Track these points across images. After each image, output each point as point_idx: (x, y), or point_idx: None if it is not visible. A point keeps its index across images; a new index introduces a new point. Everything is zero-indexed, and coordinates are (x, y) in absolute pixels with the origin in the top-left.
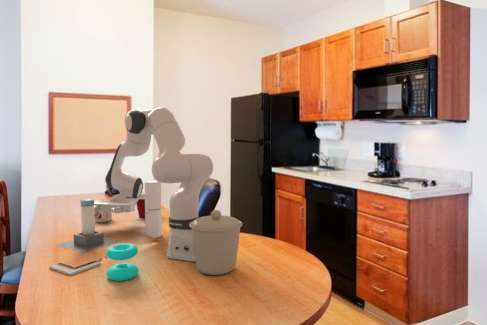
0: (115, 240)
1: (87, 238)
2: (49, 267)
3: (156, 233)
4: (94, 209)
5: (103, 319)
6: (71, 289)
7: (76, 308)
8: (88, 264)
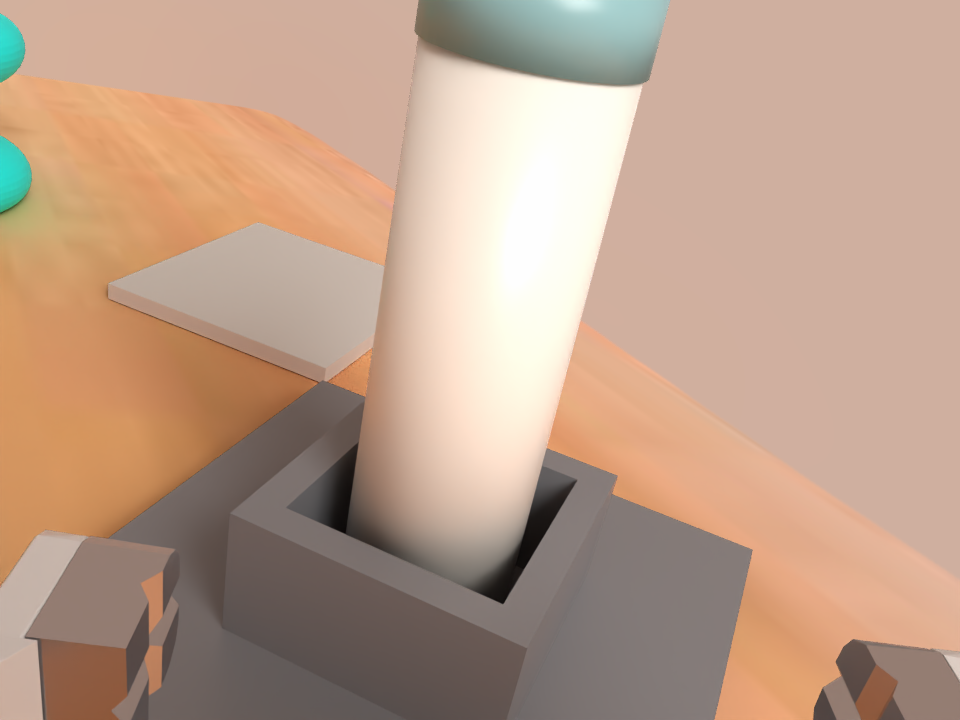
0: None
1: None
2: None
3: None
4: (847, 674)
5: None
6: (189, 169)
7: (117, 109)
8: (194, 275)
